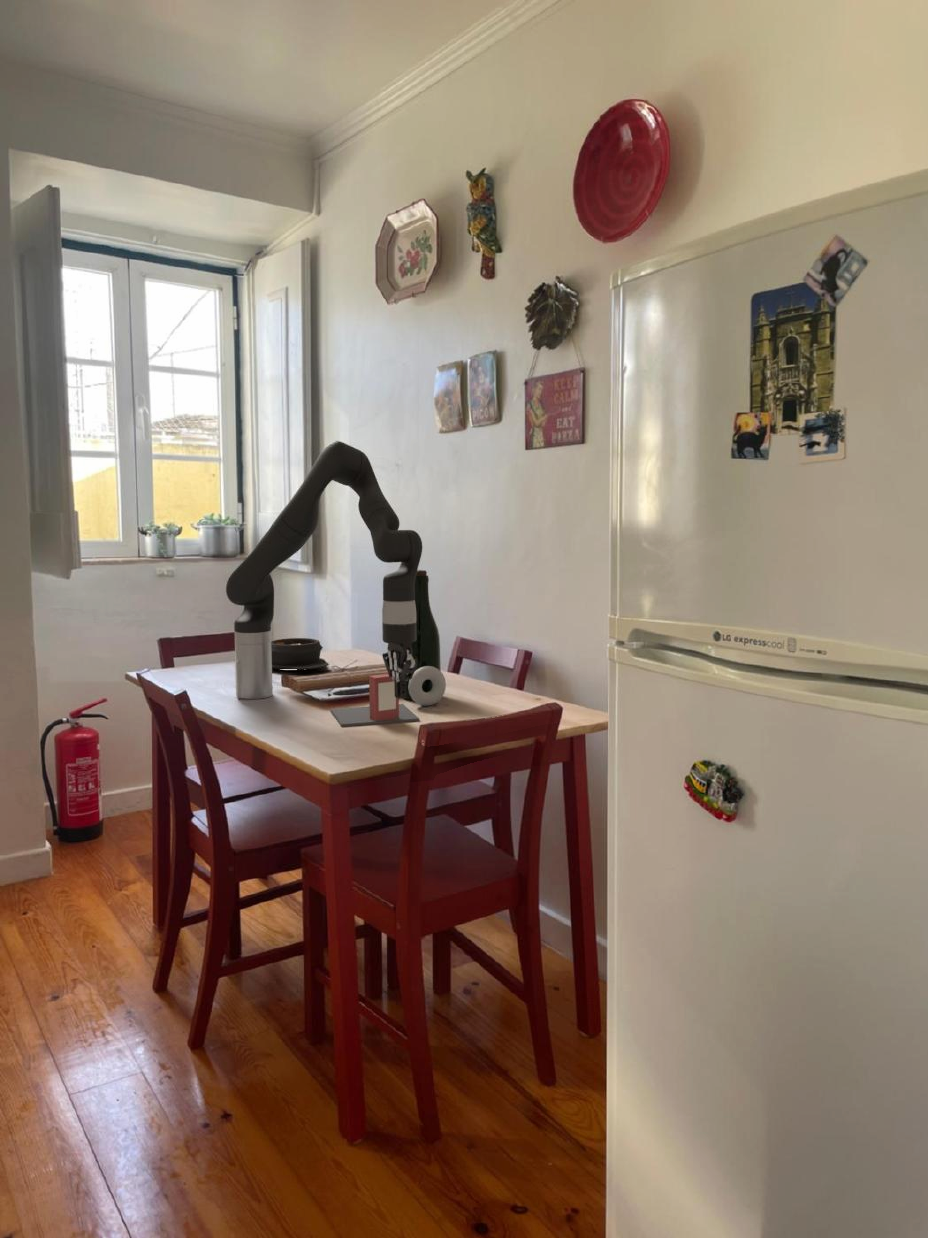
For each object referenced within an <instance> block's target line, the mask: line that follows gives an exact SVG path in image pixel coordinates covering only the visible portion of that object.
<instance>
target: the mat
mask: <svg viewBox="0 0 928 1238" xmlns="http://www.w3.org/2000/svg"><path fill="white" fill-rule="evenodd" d="M330 713H331V715H332V716H333V717H334V719H335V720H336V721H337V722H338V725H340V727H341V728H343V727H344V728H345V727H355V726H356V727H357V726H369V725H370V726H371V725H383V724H385V725H386V724H396V723H397V724H399V723H407V722H408V721H412V722H419V721H420V718H419V717H418V716H417V715H416V714H415V713H414V712H413V711H411V710H410V709H409V708H408V706H406V705H404V704H403V703H399V718H395V719H388V720H382V721H374V720H371V719H370V705H369V706H356V707H354V706H353V707H339V708H330ZM408 723H409V722H408Z"/></svg>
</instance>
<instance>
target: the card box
mask: <svg viewBox="0 0 928 1238" xmlns="http://www.w3.org/2000/svg"><path fill="white" fill-rule="evenodd" d="M368 681H369V684H368V685H369V687H368V688H369V689H368V691H369V695H368V696H369V697H368V699H369V706H370V719H371V720H374V721H382V720H388V719H395V718H399V704H400V701H399V698H396V697H395V690H394V681H393V679H392V677H389V674H388V673H385V674H384V673H382V674H376V675H369V676H368Z"/></svg>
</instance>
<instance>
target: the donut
mask: <svg viewBox="0 0 928 1238" xmlns="http://www.w3.org/2000/svg"><path fill="white" fill-rule="evenodd" d="M427 679H429V680H431V681H432V683H433V687H432V689H431V691H429V692H427V693H426V692H424V691H423V690H422V684H423V682H424V681H425V680H427ZM446 687H447V683H446V678H445V675H444V673H443V672H442V670H441V671H440V670H439V669H437V668H435V667H433V666H424V667H421V668H419V669H418V670H416V671H415V672H414V674H413V677H412V679H410V680H409V686H408V689H409V694H410V696H411V698H412V699H413V700H412V701H414V702H415V703H416V704H418V705H419V706H422V707H426V706H427V707H429V706H433V705H435V704H437V703H438V702H440V701H441V699H442V698H443V696H444V694H445V691H446Z"/></svg>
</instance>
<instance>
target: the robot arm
mask: <svg viewBox="0 0 928 1238" xmlns="http://www.w3.org/2000/svg"><path fill="white" fill-rule="evenodd" d="M332 481H333V482H336V483H339V484H341V485H343V486H347V487H349V488H350V489H352V490H353V491H354V492H355V493H356V495H357V496H358V497H359V499H358V504H357V505H358V506H357V507H358V512H359V515H360V517H361V519H362V521H363V522H364V524H365V526H366V528H367V529H368V531H369V532H370V537H371V541H372V546H373V552H374V555H375V556H376V557H377V559H378V560H380V561H381V562H384V563H388V564H390V563H391V564H392V563H400V565H399V567H398V569H397V571H394V572H391V573H387V574H385V575H384V577H383V579H382V609H381V614H382V615H381V620H382V621H381V623H382V624H381V625H382V626H381V627H382V629H381V630H382V641H383V642H384V643H386V644H387V651H386V653H385V652H383V653H382V655H381V656H382V660H383V662H384V665H385V669H386V672H387V674H389V677H392V679H393V681H394V690H395V697H396V698H399V699H405V697H406V681H408V680H409V679H412V677H413V674H414V672H415V670H416V667H417V665H418V660H417V659H413V657H412V648H411V644H412V642H415V641H416V639H417V638H416V606H415V579H416V574H417V570H419V566H420V562H421V558H422V555H423V554H422V553H423V542H422V538H421V536H420V535H419V533H418V532H417V531H415V530H413V529H399V528H400V525H401V524H400V519H399V517H398V515H397V514H396V511H395V510H394V508H392V506H391V504H390V503H389V501H388V500H387V498H386V497H385V495H384V493H383V491H382V489H381V487H380V484H379V482H378V479H377V477H376V475H375V472H374V469H373V466H372V463H371V461H370V459H369V458H368V456H367V455H366V453H365V452H363V451H362V450H360V449H358V448H356V447H353V446H352V445H350V444H347V443H345V442H342V441H340V440H333V441H331V442H330V443H328V444H327V445H326V446H325V447H324V448H323V450H322V451H321V452H320V454H319V456H318V457H317V458H316V460H315V462H314V464H313V465H312V467H311V469H310V471H309V472H308V474H307V475H306V477H305V479H304V480H303V482H302V484H301V485H300V486H299V487H298V489H297V491H296V492H295V493H294V494H293V496H292V498H291V499H290V501H288V503H287V504H286V505H285V506H284V508H283V510H281V512H280V513H278V514H279V515H278V516H277V517H276V519H275V520H274V521H273V522H272V524H271V526H269V529H268V530H267V532H265V534H264V535H263V536H262V538H261V539H260V541H259V542H258V543H257V545H256V546H255V547H254V548H253V550H252V551H251V552H250V553H249V555H248V556H247V557H246V558H245V559H244V560H243V561H242V562H241V563H240V564H239V565H238V566H237V568H236V569H235V570H234V571H232V573H231V574H230V575H229V577H228V580H227V581H226V587H225V593H226V596H227V599H228V601H230V603H232V604H233V605H236V606H243V611H242V613H241V614H240V616H238V617H237V618H236V619H235V621H234V623H233V627H234V631H233V632H234V654H235V655H234V656H235V658H234V670H235V671H234V673H235V675H234V676H235V696H236V699H237V698H245V699H244V700H257V699H265V698H269V697H272V696H273V694H274V692H273V691H274V690H273V685H274V684H273V667H272V650H271V641H272V630H271V629H272V622H273V619H274V615H275V612H274V611H275V587H274V581H273V577H272V576H271V573H272V572H273V571H274V570H275V569H276V568H278V567H279V566H280V565H282V564H283V563H284V562H286V561H287V560H288V559H290V558H291V557H292V556H294V555H295V554H297V553H298V552H299V551H300V550H301V549H302V548H303V547H304V545H305V544H306V543H307V542H308V540H309V539H310V538H311V536H312V535H313V534H314V532H315V531H316V529H317V527H318V525H319V524H318V522H319V513H320V511H319V510H320V509H319V507H320V501H321V500H320V499H321V496H322V495H323V493H324V491H325V489H326V488H327V486H328V485H329V484H330V483H331V482H332Z"/></svg>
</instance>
